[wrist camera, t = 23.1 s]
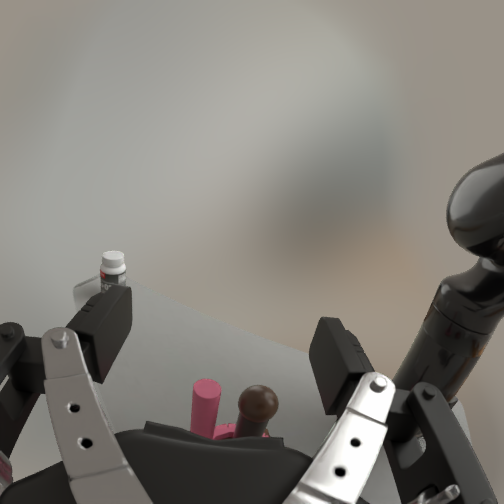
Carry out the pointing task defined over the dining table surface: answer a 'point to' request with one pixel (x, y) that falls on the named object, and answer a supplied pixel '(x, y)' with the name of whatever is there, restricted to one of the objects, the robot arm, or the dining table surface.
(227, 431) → the pink ring with post
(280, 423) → the dining table surface
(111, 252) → the pill bottle
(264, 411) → the stand
